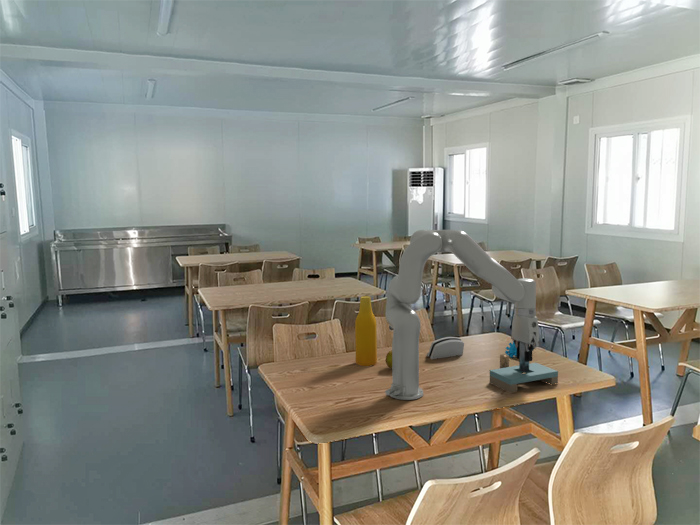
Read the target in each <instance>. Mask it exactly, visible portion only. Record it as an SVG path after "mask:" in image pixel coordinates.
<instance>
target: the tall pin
mask: <svg viewBox="0 0 700 525" xmlns="http://www.w3.org/2000/svg"><path fill="white" fill-rule="evenodd" d="M529 346H530V345H529ZM525 351H526V346H525V343H523V342H521V341H520V350H519V359H518V360H519V361H518V362H519V363H518V364H519V370H520V371H522V372H528V371H529V364H530V361H529V362H525V361H524V360H525Z"/></svg>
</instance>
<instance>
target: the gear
mask: <svg viewBox="0 0 700 525" xmlns="http://www.w3.org/2000/svg"><path fill="white" fill-rule="evenodd" d="M508 345H509V346H508ZM508 345H507V346H506V347H505V349H506V350H505V352H504V354H506V355H509V358H511V359H512V358H514V357H516V353H517V348H516V347H515V343H514V341H513V340H512V342H509V343H508Z"/></svg>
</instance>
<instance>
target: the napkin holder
mask: <svg viewBox="0 0 700 525" xmlns="http://www.w3.org/2000/svg"><path fill="white" fill-rule="evenodd" d="M464 348H465V343H464V341H463V340H462V339H461V338H459V337H456V336H446V337H442V338H438V339H436V340H434V341H432V342H431V345H430V348H429V351H428V352H427V353H426V356H427V358H428V357H429V359H431V360H436V359H437V358H438V359H443V358H450V356H451V357H456V355H458V356H463V355H464ZM462 354H463V355H462ZM426 356H425V357H426ZM438 359H437V360H438Z"/></svg>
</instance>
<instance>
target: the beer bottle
mask: <svg viewBox="0 0 700 525" xmlns="http://www.w3.org/2000/svg"><path fill="white" fill-rule="evenodd" d="M359 299H360V300H359V310H358V314H357V316H356V318H355V323H354V328H355V329H354V332H355V334H354V335H355V339H354V340H355V344H354V345H355V364H356V365H357V364H358V365H357V366H359V365H361V366H360V367H372V366H371V365H373V366H375V365H376V364H378V348H377V347H378V346H377V345H378V344H377V343H378V341H377V338H378V337H377V319H376V316H375V314H374V312H373V308H372V300H371V299H372V298H371V296H368V295H367V296H366V295H365V296H360V298H359Z"/></svg>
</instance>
